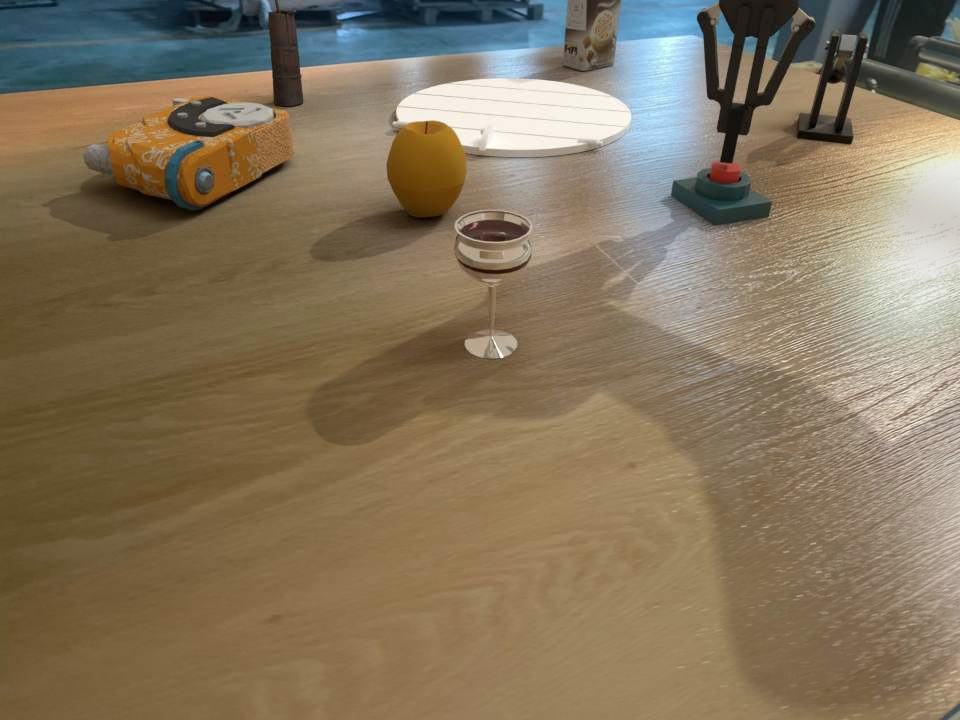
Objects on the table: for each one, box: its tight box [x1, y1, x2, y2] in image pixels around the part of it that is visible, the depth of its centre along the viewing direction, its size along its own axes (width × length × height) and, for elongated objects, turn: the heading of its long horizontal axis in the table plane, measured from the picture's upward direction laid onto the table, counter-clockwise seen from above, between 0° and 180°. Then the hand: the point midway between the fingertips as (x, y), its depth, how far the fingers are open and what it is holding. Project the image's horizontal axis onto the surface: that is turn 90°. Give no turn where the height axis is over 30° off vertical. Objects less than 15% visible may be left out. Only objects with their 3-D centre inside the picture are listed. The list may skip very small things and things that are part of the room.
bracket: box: [796, 29, 870, 145], centre depth 119 cm, size 10×8×15 cm
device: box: [83, 94, 295, 211], centre depth 105 cm, size 23×8×30 cm
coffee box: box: [562, 0, 622, 72], centre depth 152 cm, size 9×6×16 cm
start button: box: [709, 160, 742, 184], centre depth 95 cm, size 4×4×2 cm
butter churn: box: [267, 0, 305, 107], centre depth 126 cm, size 9×10×28 cm
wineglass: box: [453, 209, 533, 360], centre depth 68 cm, size 7×7×12 cm
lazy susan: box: [392, 77, 632, 158], centre depth 127 cm, size 40×39×3 cm
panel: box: [670, 167, 773, 227], centre depth 97 cm, size 10×8×4 cm
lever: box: [827, 34, 858, 85], centre depth 121 cm, size 13×4×4 cm
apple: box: [386, 120, 468, 218], centre depth 92 cm, size 10×10×12 cm
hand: (726, 159), depth 94 cm, fingers closed
